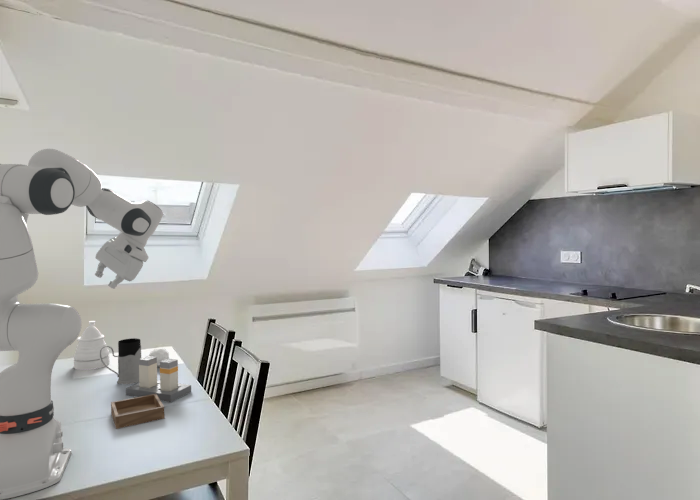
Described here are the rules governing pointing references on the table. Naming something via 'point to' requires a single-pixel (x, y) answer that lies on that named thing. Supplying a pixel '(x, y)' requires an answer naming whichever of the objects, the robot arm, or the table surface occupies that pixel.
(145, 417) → the tray
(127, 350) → the grey mug
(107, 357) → the honey pot
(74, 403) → the table surface
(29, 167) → the robot arm
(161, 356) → the ball
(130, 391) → the fuse block
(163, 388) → the block
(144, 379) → the block
